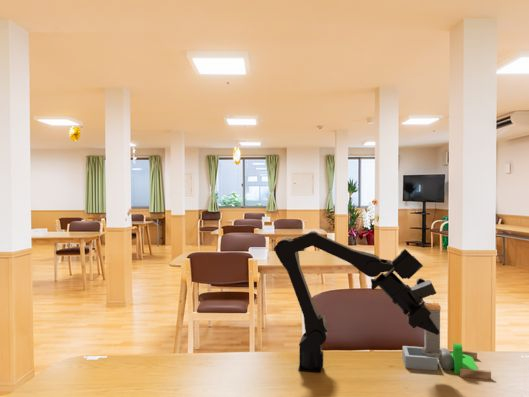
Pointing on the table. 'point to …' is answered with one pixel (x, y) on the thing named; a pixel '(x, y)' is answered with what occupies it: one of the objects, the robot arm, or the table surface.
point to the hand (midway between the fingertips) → (437, 331)
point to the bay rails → (470, 372)
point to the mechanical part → (461, 359)
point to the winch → (426, 359)
